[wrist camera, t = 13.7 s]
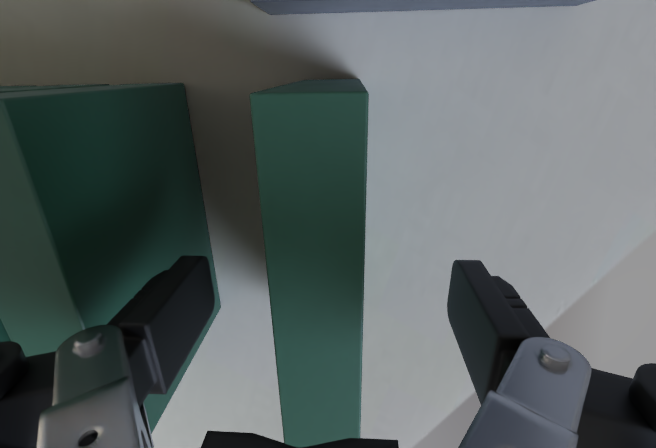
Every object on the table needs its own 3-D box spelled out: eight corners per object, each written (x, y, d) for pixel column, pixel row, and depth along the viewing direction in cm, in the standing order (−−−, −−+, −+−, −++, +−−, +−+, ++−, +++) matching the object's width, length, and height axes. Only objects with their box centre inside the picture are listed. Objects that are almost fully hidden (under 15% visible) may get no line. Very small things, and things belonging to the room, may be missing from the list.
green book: (359, 78, 15) (368, 91, 7) (356, 310, 20) (359, 478, 12) (303, 79, 15) (248, 93, 7) (313, 309, 20) (286, 475, 12)
